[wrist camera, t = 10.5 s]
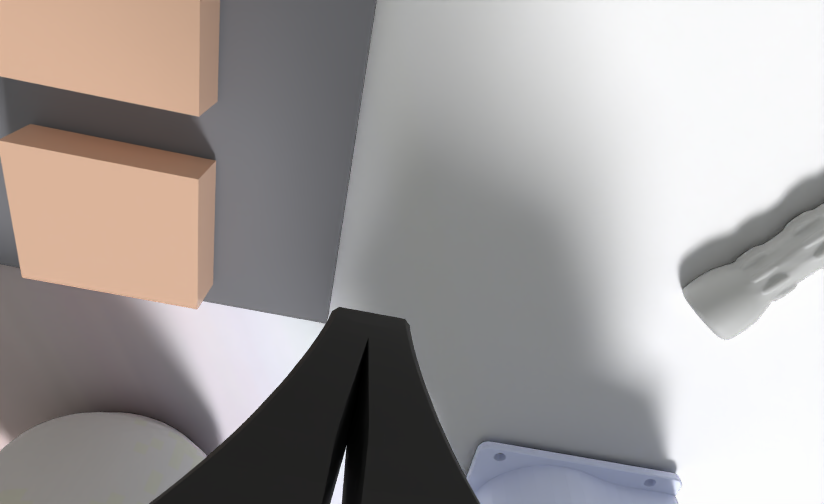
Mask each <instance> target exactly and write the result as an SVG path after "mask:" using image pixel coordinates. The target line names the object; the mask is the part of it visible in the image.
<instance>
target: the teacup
mask: <svg viewBox="0 0 824 504" xmlns="http://www.w3.org/2000/svg"><path fill="white" fill-rule="evenodd" d="M206 457H207V455H206V454H205V453H204V452H203V451H202V450H201V449H200V448H199V447H197V446H196V445H195V444H194V443H193V442H192V441H191V440H189V439H188V438H187V437H186V436H185V435H184V434H182V433H181V432H179V431H178V430H176V429H175V428H173V427H171V426H169V425H167V424H165V423H163V422H160V421H158V420H155V419H152V418H149V417H146V416H141V415H136V414H131V413H122V412H90V413H77V414H71V415H66V416H62V417H58V418H54V419H51V420H49V421H46V422H44V423H41V424H39V425H37V426H34V427H33V428H31V429H29V430H27V431H25V432H24V433H22V434H21V435H19V436H18V437H17V438H15V439H14V440H13V441H11V442H10V443H9V444H8V445H6V446H5V447H4V448H3V449H2V450H1V451H0V504H149V503H150V502H151V501H153V500H154V499H155V498H157V497H158V496H159V495H161V494H162V493H163V492H164V491H166V490H167V489H168V488H170V487H171V486H172V485H173V484H175V483H176V482H177V481H178V480H179V479H181V478H182V477H183V476H184V475H186V474H187V473H188V472H189V471H190V470H192V469H193V468H194V467H195V466H196V465H198V464H199V463H200V462H201V461H202V460H204V459H205V458H206Z"/></svg>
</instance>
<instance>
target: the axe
mask: <svg viewBox="0 0 824 504" xmlns="http://www.w3.org/2000/svg"><path fill="white" fill-rule="evenodd" d="M819 269H824V203H823V204H821V205H820V206H818V207H817V208H815V209H814V210H809V211H805V212H803V213H802V214H800V215H799V216H797V217H795V218H794V219H793V220H791V221H790V222H789V223H788V224H786V225H785V227H784V229H783V231H782V232H780V233H779V234H778V235H776V236H775V237H774V238H772V239H771V240H769V241H767V242H766V243H764V244H763V245H759V246H755V247H753V248H751V249H750V250H748V251H746V252H745V253H744V254H742V255H741V256H740V257H738V258H737V259H736V261H735V262H734V263H731V264H727V265H724V266H721V267H718V268H714V269H712V270H710V271H708V272H706V273H704V274H703V275H701V276H699V277H698V278H696V279H695V280H694V281H692V282H691V283H689V284H688V285H687V286H686V287H684V289H683V294H684V297H685V299H686V300H687V302H688V303H689V305H690V306H691V307H692V309H693V310H694V311H695V313H696V314H697V315H698V316H699V317H700V318H701V320H702V321H703V322H704V323H705V324H706V325H707V326H708V327H709V328H710V329H711V330H712V331H713V332H714V333H715V334H716V335H717V336H718V337H720V338H721V339H724V340H729V339H731V338H733V337H735V336H737V335H738V334H740V333H742V332H743V331H745V330H746V329H747V328H749V327H750V326H751V325H753V324H754V323H755V322H756V321H757V320H758V319H759V318H760V317H761V315H762V314H763V313H764V311H765V310H766V309H767V307H768V306H769V305H770V304H771V302H772V301H776V300H778V299H780V298H782V297H784V296H786V295H787V294H788V293H790V292H791V291H792V290H794V289H795V287H796V285H797V284H798V283H799V282H801V281H802V280H804V279H805V278H807V277H808V276H810V275H811V274H813V273H815V272H816V271H818V270H819Z"/></svg>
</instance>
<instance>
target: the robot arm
mask: <svg viewBox="0 0 824 504" xmlns="http://www.w3.org/2000/svg"><path fill="white" fill-rule="evenodd" d="M346 445H347V447H346ZM345 449H346V459H345V471H344V484H343V496H342V504H678V502H677V499H676V497H675V496H676V494H677V493H678V491H679V490H680V488H681V486H682V483H681V480H680V478H679V476H678V475H677V474H675V473H671V472H665V471H659V470H653V469H648V468H642V467H636V466H630V465H624V464H619V463H613V462H607V461H601V460H595V459H590V458H584V457H578V456H572V455H566V454H560V453H555V452H549V451H543V450H537V449H531V448H526V447H520V446H514V445H508V444H502V443H497V442H490V441H486V442H483V443H481V444H480V445H479V446H478V447H477V450H476V453H475V455H474V458H473V461H472V463H471V466H470V469H469V471H468V474H467V477H465V475H464V473H463V471H462V469H461V467H460V465H459V463H458V461H457V459H456V457H455V455H454V453H453V451H452V449H451V447H450V444H449V442H448V440H447V438H446V436H445V433H444V431H443V429H442V427H441V424H440V422H439V420H438V417H437V415H436V412H435V410H434V407H433V404H432V402H431V399H430V396H429V394H428V391H427V389H426V386H425V383H424V380H423V377H422V374H421V371H420V368H419V364H418V361H417V358H416V354H415V350H414V347H413V342H412V338H411V333H410V325H409V324H408V323H407V321H406V320H405V319H401V318H396V317H391V316H385V315H380V314H374V313H369V312H363V311H358V310H353V309H347V308H342V307H339V308H337V309H335V310H333V311H332V313H331V315H330V317H329V319H328V321H327V322H326V324H325V326H324V328H323V329H322V331H321V332H320V334H319V335H318V337H317V338H316V340H315V341H314V342H313V344H312V345H311V347H310V348H309V349H308V351H307V352H306V353H305V355H304V356H303V357H302V358H301V360H300V361H299V362H298V363H297V365H296V366H295V367H294V368H293V370H292V371H291V372H290V373H289V375H288V376H287V377H286V378H285V379H284V380H283V382H282V383H281V384H280V385H279V386H278V387H277V388H276V389H275V390H274V392H273V393H272V394H271V395H270V396H269V397H268V398H267V399H266V400H265V401H264V402H263V403H262V404H261V406H260V407H259V408H258V409H257V410H256V411H255V412H254V413H253V414H252V415H251V416H250V417H249V418H248V419H247V420H246V421H245V422H244V423H243V424H242V425H241V426H240V427H239V428H238V429H237V430H236V431H235V432H234V433H233V434H232V435H231V436H229V437H228V438H227V439H226V440H225V441H224V442H223V443H222V444H221V445H220V446H218V447H217V448H216V449H215V450H214V451H213V452H212V453H211V454H209V455H208V456H207V457H206V458H205V459H204V460H202V461H201V462H200V463H199V464H198V465H196V466H195V467H194V468H193V469H192V470H190V471H189V472H188V473H187V474H186V475H184V476H183V477H182V478H181V479H179V480H178V481H177V482H176V483H175V484H173V485H172V486H171V487H170V488H168V489H167V490H166V491H164V492H163V493H162V494H161V495H159V496H158V497H157V498H155V499H154V500H153V501H151V502H150V503H149V504H330V502H331V498H332V495H333V491H334V488H335V484H336V481H337V477H338V474H339V470H340V466H341V463H342V459H343V456H344V452H345ZM498 453H502V454H498Z"/></svg>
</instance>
